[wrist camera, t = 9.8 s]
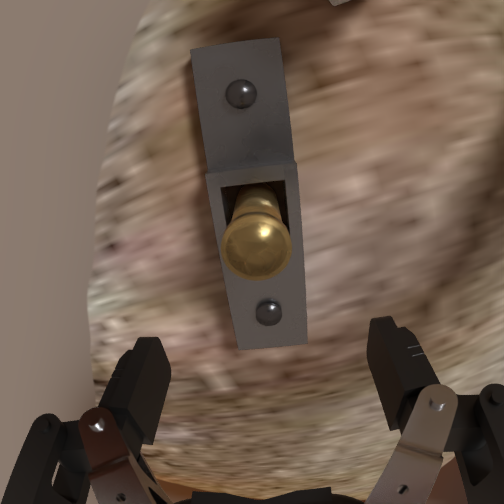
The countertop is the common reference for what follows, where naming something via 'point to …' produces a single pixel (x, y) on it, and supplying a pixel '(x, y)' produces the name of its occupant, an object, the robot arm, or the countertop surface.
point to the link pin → (256, 235)
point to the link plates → (252, 177)
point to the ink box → (337, 2)
